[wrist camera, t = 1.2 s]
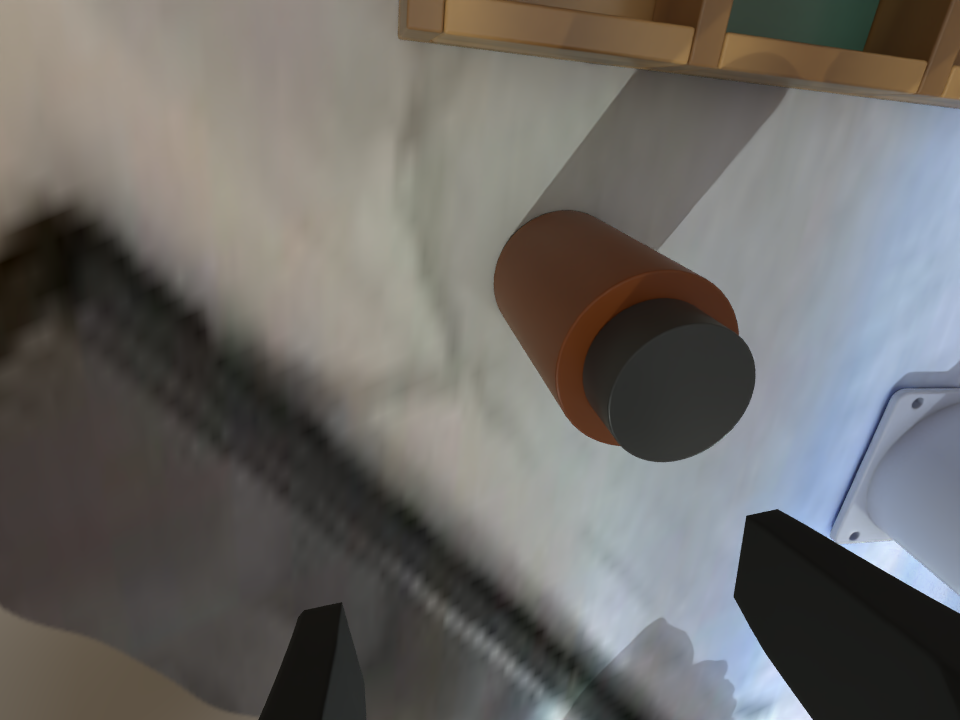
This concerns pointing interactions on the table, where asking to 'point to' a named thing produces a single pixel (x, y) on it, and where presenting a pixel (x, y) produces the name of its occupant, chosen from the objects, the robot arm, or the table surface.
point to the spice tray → (723, 39)
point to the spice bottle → (624, 336)
